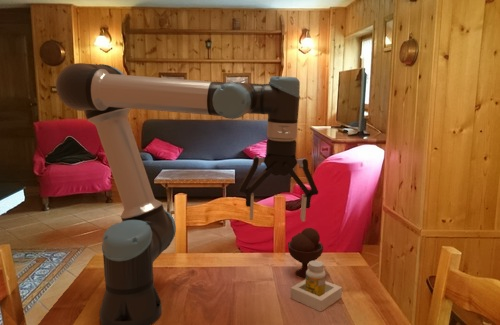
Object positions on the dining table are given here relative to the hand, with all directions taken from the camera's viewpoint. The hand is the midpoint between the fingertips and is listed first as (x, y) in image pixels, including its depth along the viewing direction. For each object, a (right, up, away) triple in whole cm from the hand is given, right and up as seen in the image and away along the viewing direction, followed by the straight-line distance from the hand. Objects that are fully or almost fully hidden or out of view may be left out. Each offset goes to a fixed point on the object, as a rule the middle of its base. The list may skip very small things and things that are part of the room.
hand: (276, 219), depth 109 cm
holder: (+11, -23, +6) cm, 26 cm away
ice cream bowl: (+10, -20, +20) cm, 30 cm away
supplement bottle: (+11, -22, +6) cm, 25 cm away
